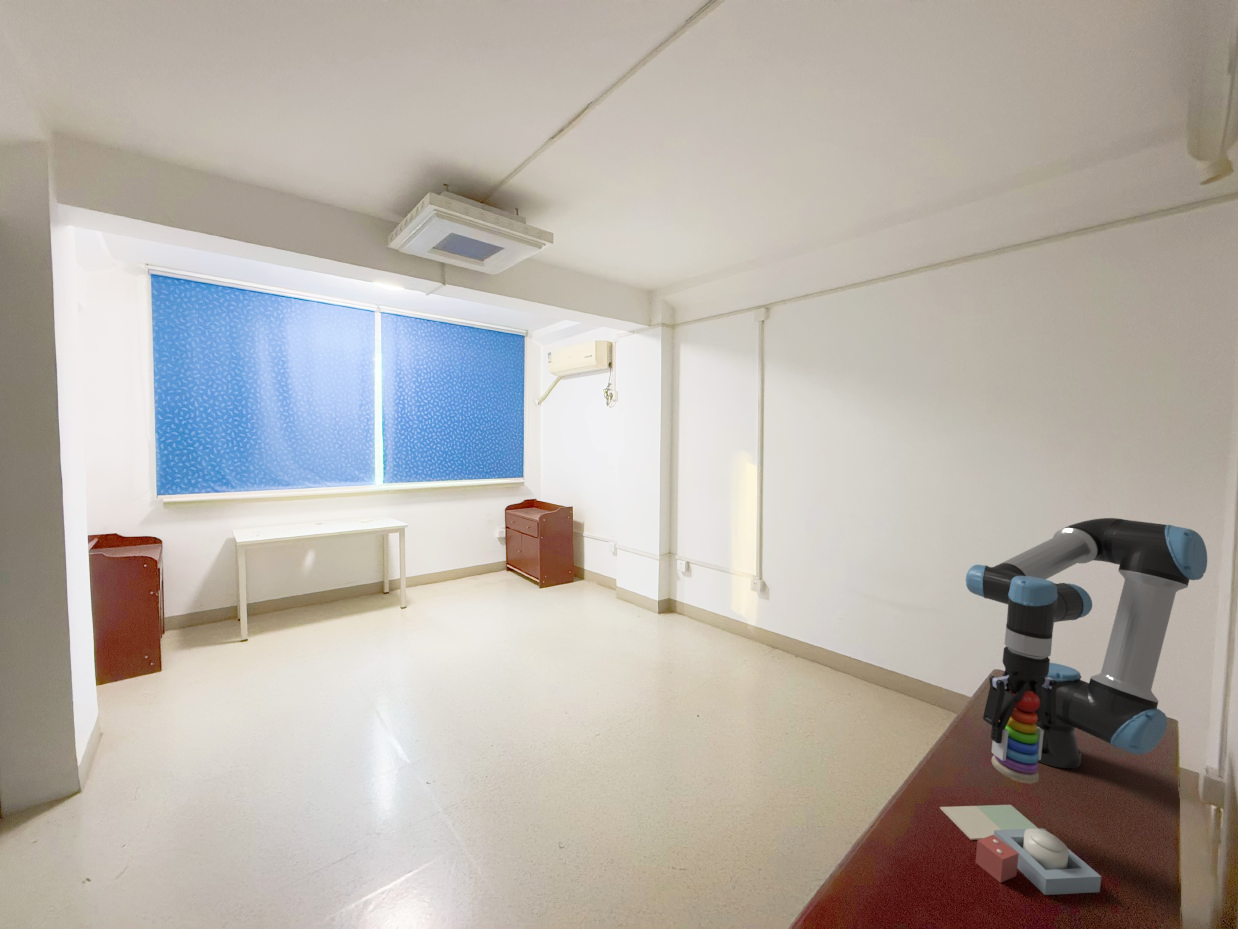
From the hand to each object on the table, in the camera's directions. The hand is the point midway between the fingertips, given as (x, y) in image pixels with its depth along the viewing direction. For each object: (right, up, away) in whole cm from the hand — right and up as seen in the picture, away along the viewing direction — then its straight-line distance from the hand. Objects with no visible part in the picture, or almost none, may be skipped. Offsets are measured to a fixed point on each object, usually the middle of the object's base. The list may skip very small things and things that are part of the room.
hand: (1015, 756), depth 105 cm
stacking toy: (0, -4, 0) cm, 4 cm away
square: (-9, -14, 0) cm, 17 cm away
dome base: (-3, -15, -10) cm, 19 cm away
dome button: (-3, -14, -10) cm, 18 cm away
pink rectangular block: (-13, -15, -11) cm, 23 cm away
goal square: (-1, -15, +1) cm, 15 cm away
